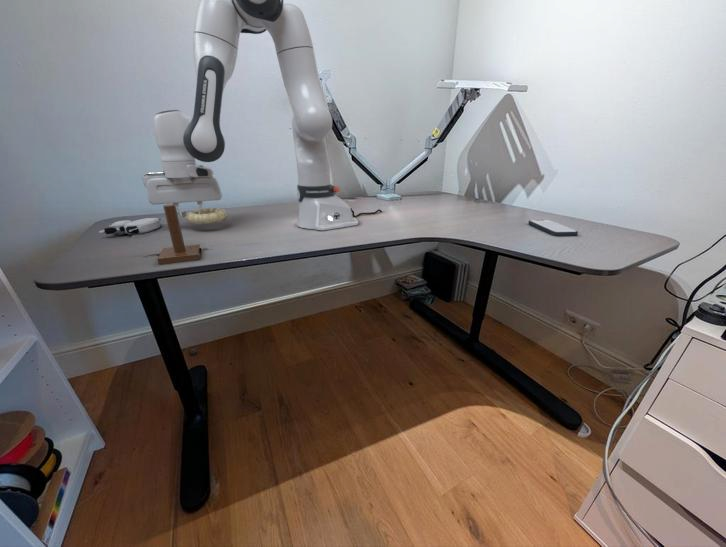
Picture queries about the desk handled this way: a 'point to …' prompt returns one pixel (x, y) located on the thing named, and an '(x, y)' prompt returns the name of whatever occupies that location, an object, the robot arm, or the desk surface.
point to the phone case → (553, 228)
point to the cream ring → (206, 216)
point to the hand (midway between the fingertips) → (191, 216)
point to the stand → (177, 241)
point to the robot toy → (133, 226)
